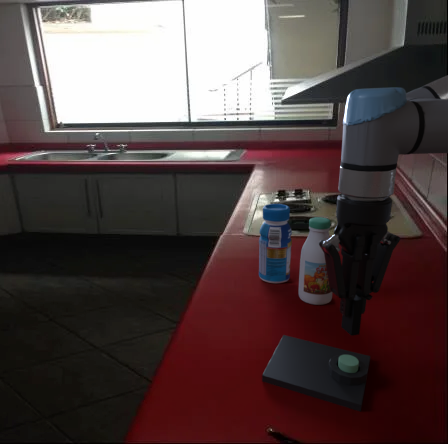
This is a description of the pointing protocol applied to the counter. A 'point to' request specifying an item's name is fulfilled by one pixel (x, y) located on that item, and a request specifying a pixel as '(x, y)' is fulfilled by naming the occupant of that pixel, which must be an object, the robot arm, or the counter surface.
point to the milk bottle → (314, 265)
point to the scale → (317, 372)
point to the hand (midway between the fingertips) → (350, 330)
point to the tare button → (348, 363)
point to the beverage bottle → (275, 244)
